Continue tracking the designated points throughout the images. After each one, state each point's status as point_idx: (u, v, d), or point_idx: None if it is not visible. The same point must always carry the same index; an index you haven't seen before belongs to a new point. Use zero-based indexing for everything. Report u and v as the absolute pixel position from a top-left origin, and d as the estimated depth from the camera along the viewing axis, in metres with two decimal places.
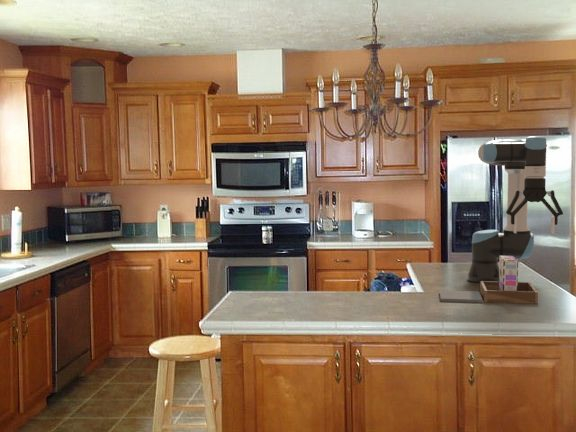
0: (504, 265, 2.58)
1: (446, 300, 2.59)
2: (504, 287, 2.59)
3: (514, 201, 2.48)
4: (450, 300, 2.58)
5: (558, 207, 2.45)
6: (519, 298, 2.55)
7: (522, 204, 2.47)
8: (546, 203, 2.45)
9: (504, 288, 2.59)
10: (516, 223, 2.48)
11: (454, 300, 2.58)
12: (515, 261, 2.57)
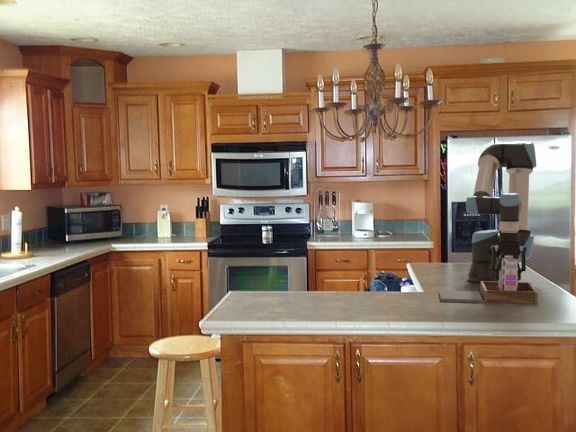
0: (504, 265, 2.58)
1: (446, 300, 2.59)
2: (504, 287, 2.59)
3: (494, 257, 2.64)
4: (450, 300, 2.58)
5: (524, 264, 2.62)
6: (519, 298, 2.55)
7: (501, 259, 2.63)
8: (515, 258, 2.62)
9: (504, 288, 2.59)
10: (500, 279, 2.64)
11: (454, 300, 2.58)
12: (515, 261, 2.57)
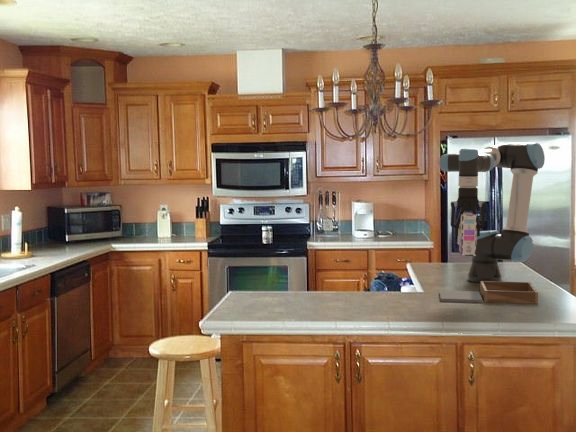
0: (463, 220, 2.56)
1: (446, 300, 2.59)
2: (463, 242, 2.57)
3: (453, 213, 2.62)
4: (450, 300, 2.58)
5: (482, 219, 2.60)
6: (519, 298, 2.55)
7: (460, 214, 2.61)
8: (474, 213, 2.60)
9: (463, 243, 2.57)
10: (459, 235, 2.62)
11: (454, 300, 2.58)
12: (473, 216, 2.55)
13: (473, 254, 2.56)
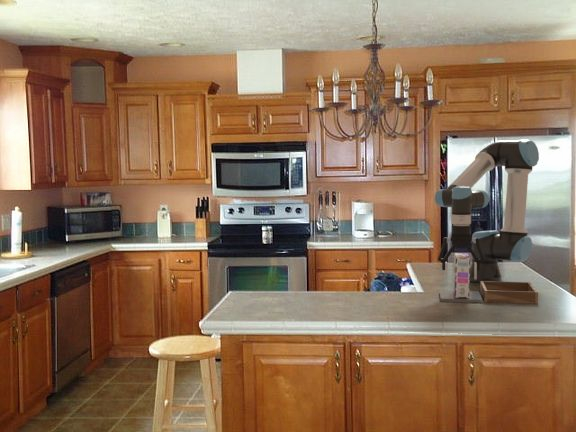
0: (456, 262, 2.58)
1: (446, 300, 2.59)
2: (456, 284, 2.58)
3: (443, 248, 2.64)
4: (450, 300, 2.58)
5: (480, 254, 2.61)
6: (519, 298, 2.55)
7: (451, 250, 2.63)
8: (470, 250, 2.61)
9: (456, 285, 2.58)
10: (446, 269, 2.64)
11: (454, 300, 2.58)
12: (467, 258, 2.57)
13: (466, 296, 2.58)
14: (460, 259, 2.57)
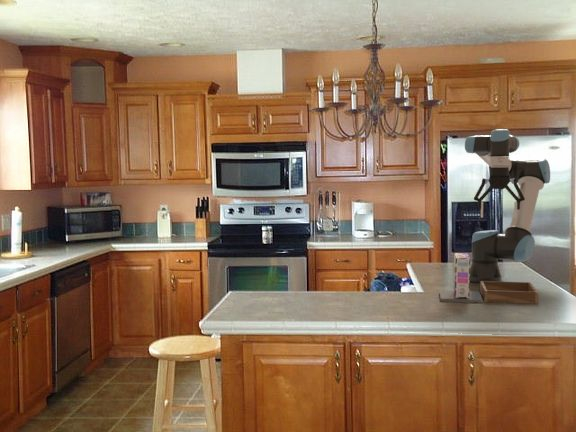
0: (456, 262, 2.58)
1: (446, 300, 2.59)
2: (456, 284, 2.58)
3: (481, 188, 2.73)
4: (450, 300, 2.58)
5: (520, 193, 2.70)
6: (519, 298, 2.55)
7: (488, 191, 2.72)
8: (509, 190, 2.71)
9: (456, 285, 2.58)
10: (482, 208, 2.73)
11: (454, 300, 2.58)
12: (467, 258, 2.57)
13: (466, 296, 2.58)
14: (460, 259, 2.57)
